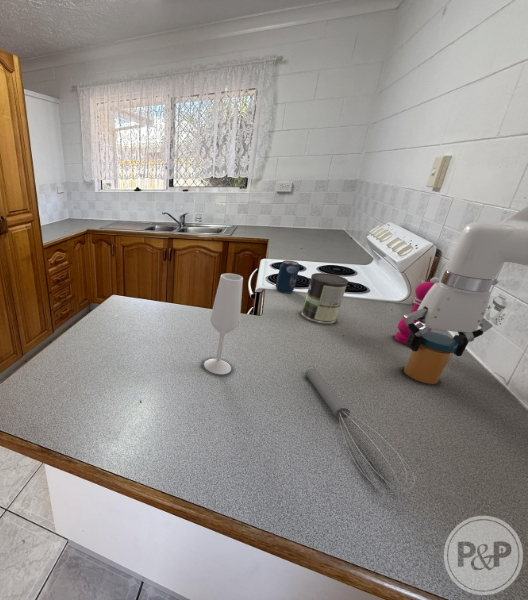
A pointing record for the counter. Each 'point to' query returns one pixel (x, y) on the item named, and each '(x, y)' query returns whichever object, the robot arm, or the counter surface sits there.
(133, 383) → the counter surface
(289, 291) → the soda can
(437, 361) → the jar
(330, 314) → the coffee can
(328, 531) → the counter surface
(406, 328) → the pepper mill
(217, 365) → the champagne flute
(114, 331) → the counter surface
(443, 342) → the lid
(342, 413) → the kitchen whisk
